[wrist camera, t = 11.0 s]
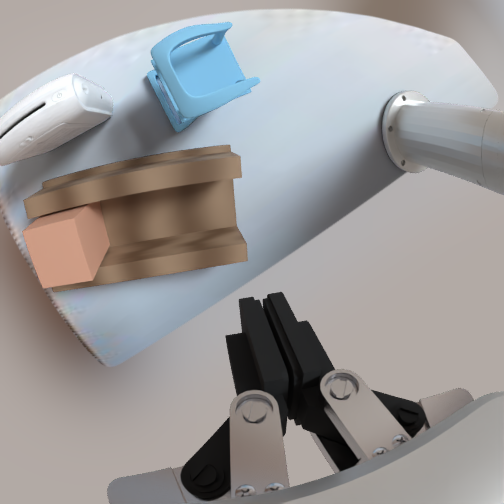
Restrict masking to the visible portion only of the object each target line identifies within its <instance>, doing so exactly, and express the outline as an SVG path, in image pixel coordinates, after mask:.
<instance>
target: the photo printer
mask: <svg viewBox="0 0 504 504" xmlns="http://www.w3.org/2000/svg"><path fill="white" fill-rule="evenodd" d="M113 106H114V105H113V99H112V97H111V95H110V94H109V93H108V92H106V91H105V90H104V88H103V87H102V86H100V85H98V84H97V83H95V82H93V81H91V80H89V79H87V78H85V77H83V76H81V75H79V74H77V73H71V74H68V75H64V76H62V77H59V78H57V79H55V80H53V81H51V82H49V83H47V84H45V85H43V86H42V87H40V88H38V89H37V90H35V91H34V92H32V93H31V94H29V95H28V96H26V97H25V98H23V99H22V100H21V101H19V102H18V103H17V104H16V105H14V106H13V107H12V108H11V109H10V110H9V111H8V112H6V113H5V114H4V115H3V116H2V117H1V118H0V166H4V165H7V164H10V163H13V162H16V161H20V160H23V159H26V158H29V157H33V156H37V155H40V154H44V153H47V152H49V151H52V150H53V149H55V148H57V147H59V146H61V145H63V144H64V143H66V142H68V141H70V140H71V139H73V138H75V137H77V136H78V135H80V134H82V133H84V132H86V131H87V130H89V129H91V128H93V127H95V126H96V125H98V124H100V123H102V122H104V121H105V120H107V119H108V118H109V117H111V116H112V111H113Z"/></svg>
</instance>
